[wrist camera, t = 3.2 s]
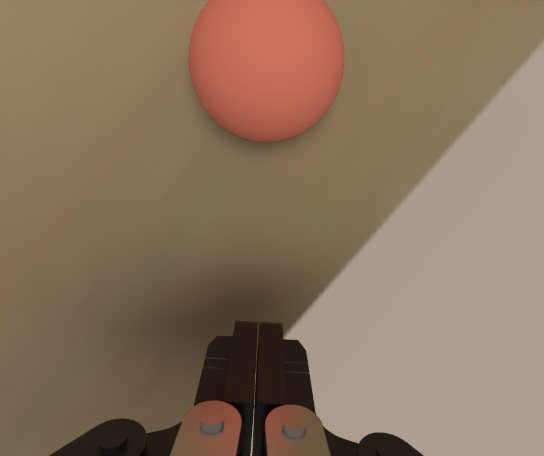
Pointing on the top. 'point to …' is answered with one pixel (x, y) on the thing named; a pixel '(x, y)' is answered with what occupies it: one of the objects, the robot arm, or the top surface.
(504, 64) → the top surface
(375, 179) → the top surface
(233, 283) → the top surface
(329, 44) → the ball
